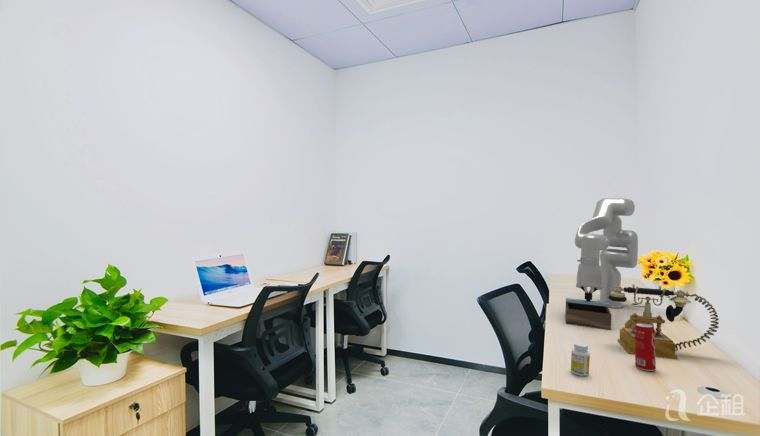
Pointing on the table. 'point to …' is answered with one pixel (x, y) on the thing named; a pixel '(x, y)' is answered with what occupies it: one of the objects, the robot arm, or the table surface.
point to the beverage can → (645, 346)
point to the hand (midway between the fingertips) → (588, 301)
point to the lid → (588, 302)
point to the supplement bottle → (580, 359)
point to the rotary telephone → (658, 319)
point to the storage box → (588, 315)
